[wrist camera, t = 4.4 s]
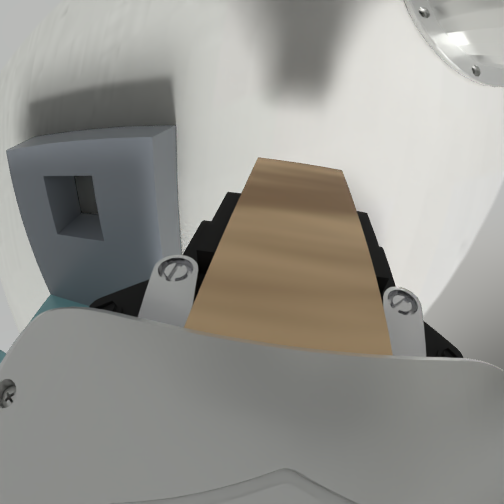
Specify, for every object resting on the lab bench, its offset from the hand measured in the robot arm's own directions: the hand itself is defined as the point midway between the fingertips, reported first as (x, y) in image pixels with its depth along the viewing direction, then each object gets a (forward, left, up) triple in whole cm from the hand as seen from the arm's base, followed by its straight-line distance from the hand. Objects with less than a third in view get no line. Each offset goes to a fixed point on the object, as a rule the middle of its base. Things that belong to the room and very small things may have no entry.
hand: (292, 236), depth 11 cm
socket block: (+7, -17, -10) cm, 21 cm away
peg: (0, 0, -3) cm, 3 cm away
